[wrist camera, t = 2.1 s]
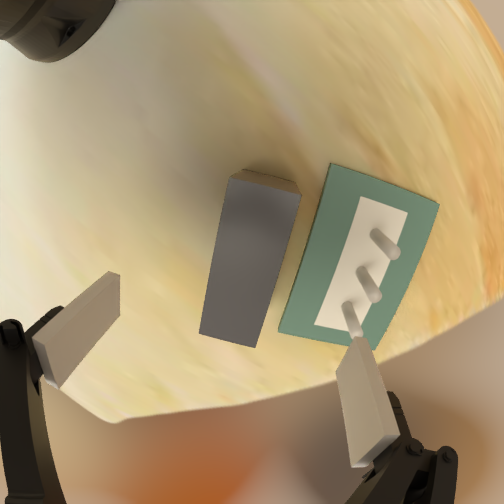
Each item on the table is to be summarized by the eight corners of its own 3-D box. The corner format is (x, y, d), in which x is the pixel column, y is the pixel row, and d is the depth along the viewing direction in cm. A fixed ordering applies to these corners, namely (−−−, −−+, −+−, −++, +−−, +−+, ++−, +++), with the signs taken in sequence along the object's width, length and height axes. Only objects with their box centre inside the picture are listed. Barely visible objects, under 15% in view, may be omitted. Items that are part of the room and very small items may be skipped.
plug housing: (243, 169, 25) (229, 177, 18) (295, 182, 25) (301, 195, 18) (216, 291, 29) (198, 333, 23) (261, 303, 29) (255, 348, 23)
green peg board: (330, 163, 24) (344, 167, 18) (436, 202, 24) (467, 217, 18) (278, 327, 30) (277, 363, 25) (373, 346, 30) (385, 379, 25)
